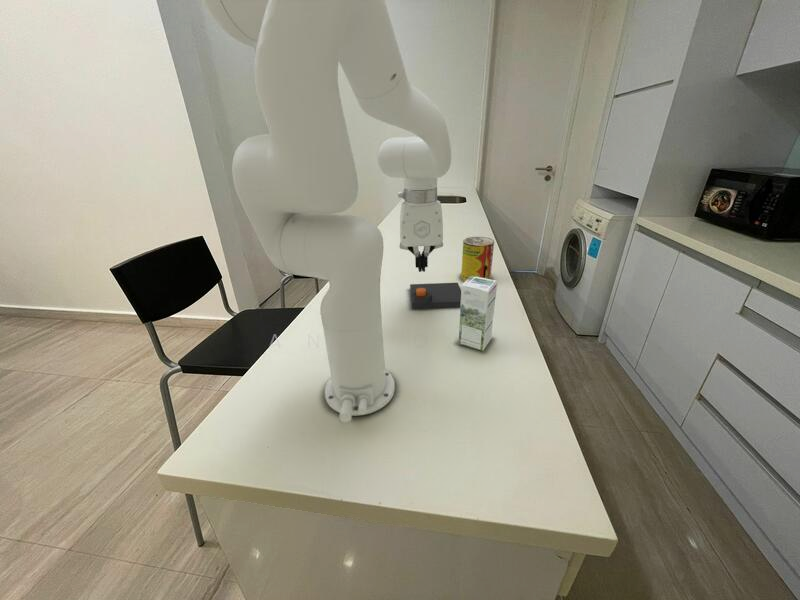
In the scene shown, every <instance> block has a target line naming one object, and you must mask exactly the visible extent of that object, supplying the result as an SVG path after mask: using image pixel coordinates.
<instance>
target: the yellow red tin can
mask: <svg viewBox="0 0 800 600" xmlns="http://www.w3.org/2000/svg"><path fill="white" fill-rule="evenodd" d="M494 247H495V240H494V239H493V238H490V237H487V236H469V237H466V238H464V239H463V240H462V256H461V257H462V258H461V276H460V277H461V280H462V281H464V282H465V281H466V280H467V279H468V278H469V277H470V276H475V277H481V278H486V279H491V280H492V278H491V277H492V269H493V268H492V266H493V258H494V257H493V256H494V250H495V249H494Z"/></svg>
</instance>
